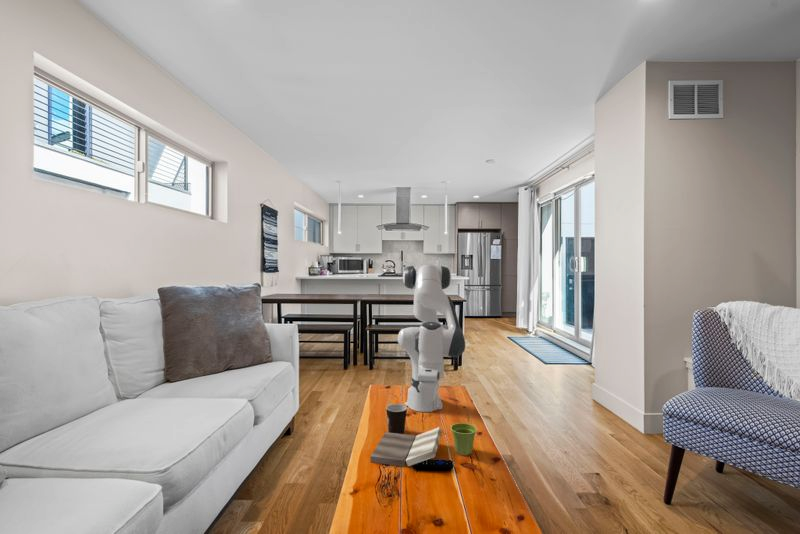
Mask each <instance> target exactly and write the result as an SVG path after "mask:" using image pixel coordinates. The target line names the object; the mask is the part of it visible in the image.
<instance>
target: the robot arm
mask: <svg viewBox="0 0 800 534" xmlns="http://www.w3.org/2000/svg"><path fill="white" fill-rule="evenodd" d="M402 281H403V284H404V286H405V288H407V289H411V290H412V289H414V293H413V315H414V317H415V318H416V319H417V320H418V321H421V322H422V324H420V326H418V327H417V326H410V327H406V328H401V329H400V330H399V331H398V335H397V343H398V346H399V347H400V348H401V349H403V350H404V351H405V352H406V353H407V355H408V356H409V358H410V362H411V369H412V373H411V374H412V375H411V380H410V382H411V383H410V385H411V386H410V387H409V388H408V389H407V390H408V391H407V400H406V401H405V402H404V404H405V405H406V407H407V406H408V407H407V408H408V409H410V408H411V410H412V411H416V412H422V413H423V412H426V413H428V412H431V413H433V411H437V410H443V408H444V407H443V403H442V398H441V396H439V389H440V381H441V378H442V377H444V373H445V370H444V369H445V367H444V366H445V365H444V357H453V358H458V357H460V356H461V355H462V354H463V353H464V352H465V350H466V338H465V336H464V332H463V330H462V328H461V325H460V321H459V318H458V316H457V311H456V310H455V309H456V308H455V306H454V303H453V300H452V299H451V296H449V295H447V294H446V293H445V292H444V289H447V288H449V287H450V284H451V282H452V273H451V270H450V269H449V268H448V267H446V266H443V265H441V266H439V265H438V266H437V265H434V264H428V263H427V264H424V265H417V266H416V265H415V266H413V265H410V266H407V267H405V268H404V271H403V274H402ZM438 313H440V314H441V315H443V316H444V317H445V320H446V325H447V328H445V327H444V326H443V325H442V324H441V323H440V321H439V319H438ZM405 405H404V406H405Z"/></svg>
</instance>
